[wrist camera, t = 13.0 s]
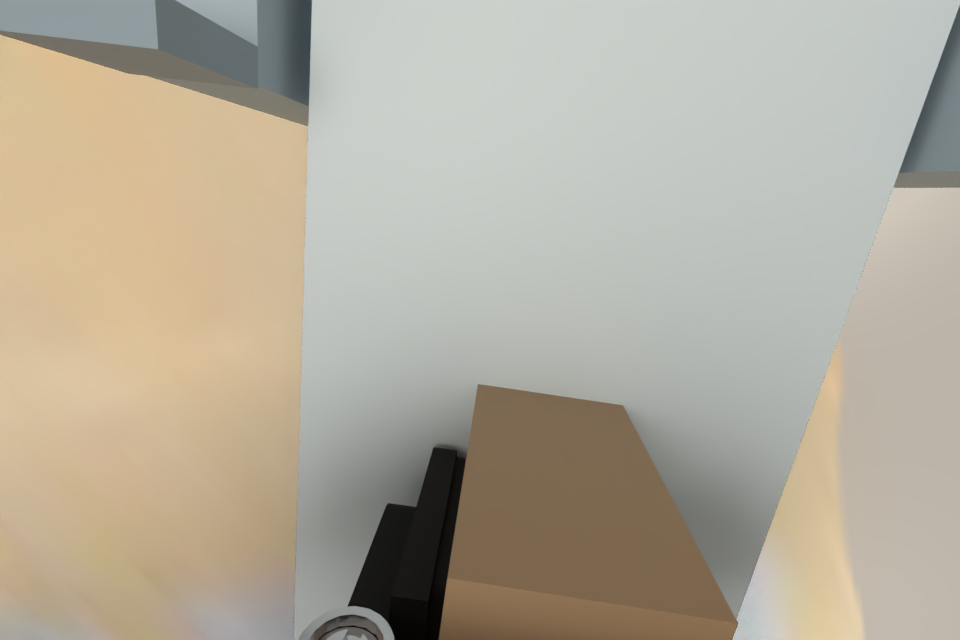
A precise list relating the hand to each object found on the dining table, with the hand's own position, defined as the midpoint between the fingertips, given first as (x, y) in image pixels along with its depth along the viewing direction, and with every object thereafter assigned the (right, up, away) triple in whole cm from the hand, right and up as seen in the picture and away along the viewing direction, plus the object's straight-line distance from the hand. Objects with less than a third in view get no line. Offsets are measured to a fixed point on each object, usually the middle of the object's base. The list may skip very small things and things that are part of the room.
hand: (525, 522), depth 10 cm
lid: (0, +1, +1) cm, 1 cm away
